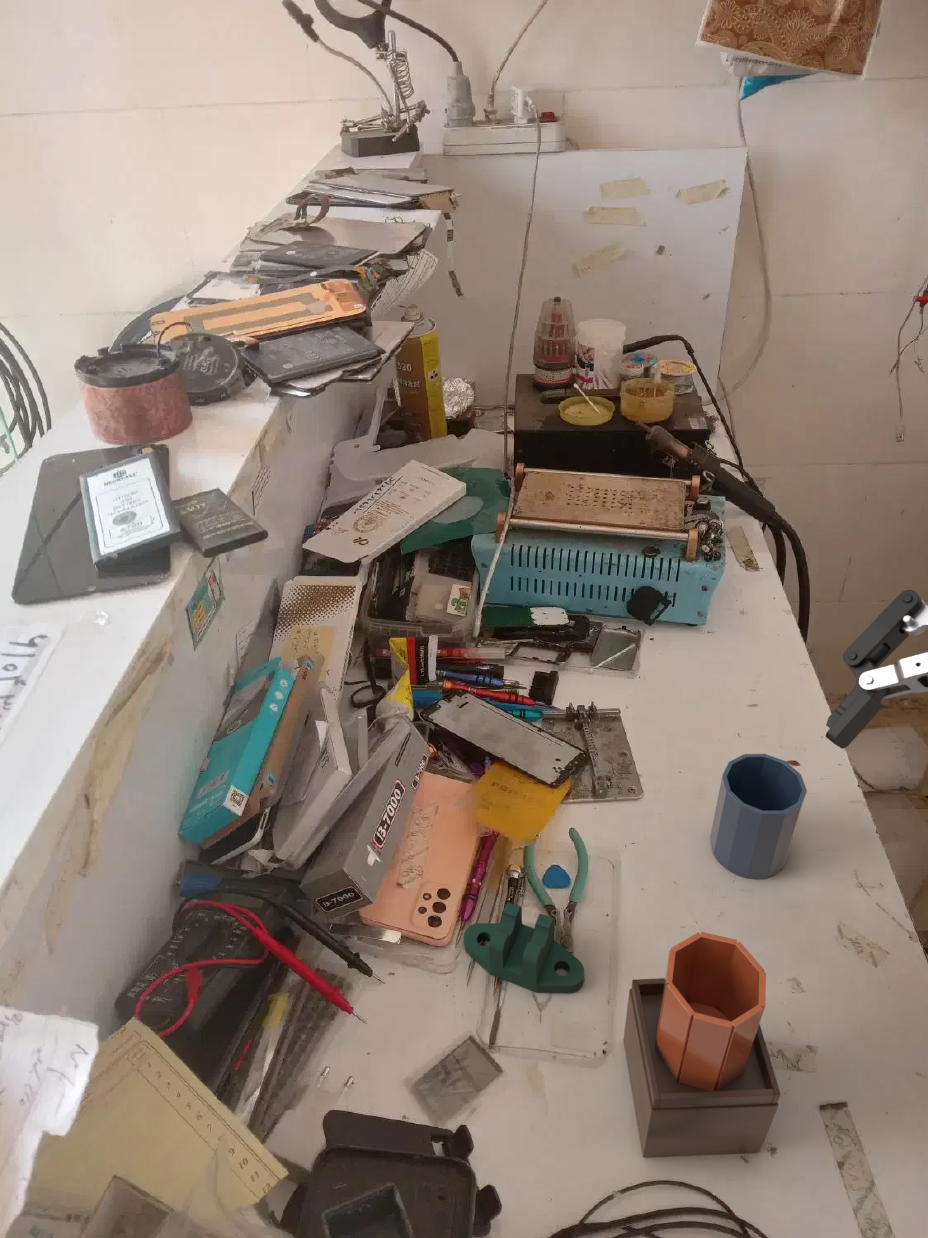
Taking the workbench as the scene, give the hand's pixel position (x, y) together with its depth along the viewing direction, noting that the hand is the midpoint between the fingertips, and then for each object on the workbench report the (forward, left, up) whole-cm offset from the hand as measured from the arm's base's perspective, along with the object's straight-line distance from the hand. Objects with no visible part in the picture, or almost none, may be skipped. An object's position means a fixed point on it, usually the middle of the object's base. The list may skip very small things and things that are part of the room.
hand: (890, 788), depth 49 cm
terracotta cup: (0, +12, -20) cm, 23 cm away
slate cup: (+14, -8, -28) cm, 33 cm away
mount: (+15, +17, -28) cm, 37 cm away
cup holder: (0, +12, -28) cm, 30 cm away
